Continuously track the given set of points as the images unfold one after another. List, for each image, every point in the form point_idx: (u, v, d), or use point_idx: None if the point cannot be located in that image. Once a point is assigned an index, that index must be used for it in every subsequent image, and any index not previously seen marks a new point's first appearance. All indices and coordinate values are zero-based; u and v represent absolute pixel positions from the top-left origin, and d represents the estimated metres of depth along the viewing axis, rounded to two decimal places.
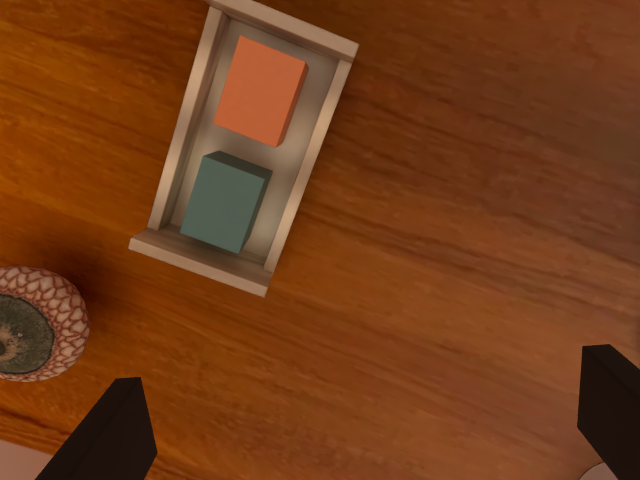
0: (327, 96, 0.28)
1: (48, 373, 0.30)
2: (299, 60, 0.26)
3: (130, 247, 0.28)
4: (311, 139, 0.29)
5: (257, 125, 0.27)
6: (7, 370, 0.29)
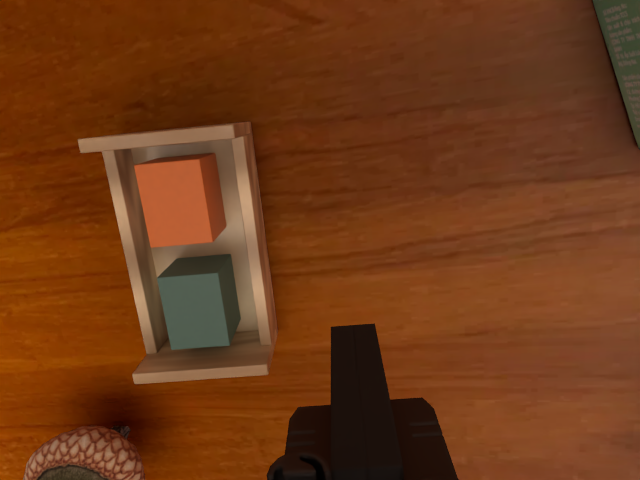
0: (237, 174, 0.29)
1: None
2: (193, 160, 0.27)
3: (136, 382, 0.30)
4: (243, 217, 0.30)
5: (188, 231, 0.29)
6: None
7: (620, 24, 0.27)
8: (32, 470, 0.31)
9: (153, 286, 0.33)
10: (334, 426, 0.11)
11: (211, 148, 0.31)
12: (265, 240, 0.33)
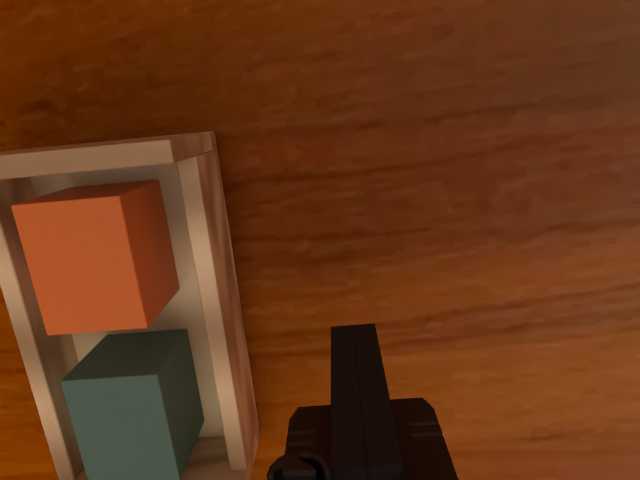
0: (188, 217, 0.18)
1: None
2: (109, 198, 0.16)
3: None
4: (199, 283, 0.19)
5: (106, 311, 0.18)
6: None
7: None
8: None
9: None
10: (334, 426, 0.11)
11: (153, 172, 0.20)
12: (239, 307, 0.22)
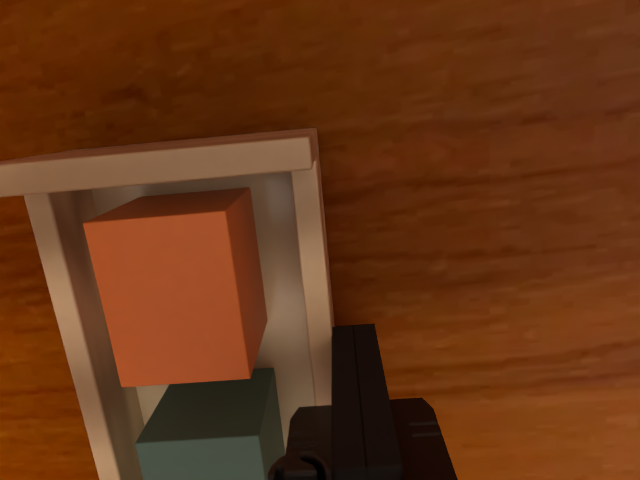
0: (300, 236, 0.14)
1: None
2: (212, 214, 0.12)
3: None
4: (308, 318, 0.15)
5: (199, 358, 0.14)
6: None
7: None
8: None
9: (133, 427, 0.18)
10: (335, 426, 0.11)
11: (243, 179, 0.16)
12: None
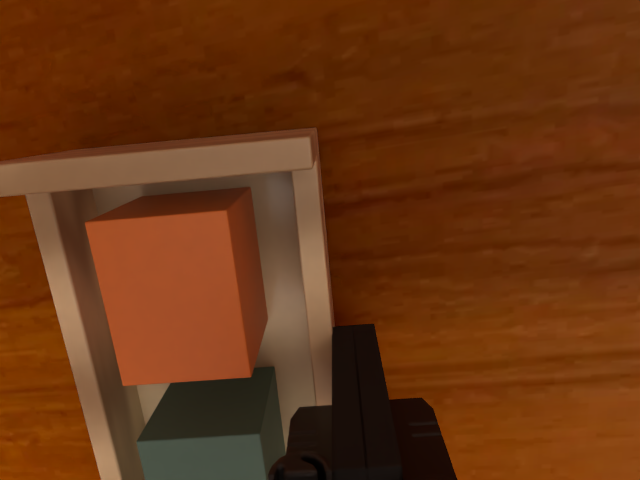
0: (300, 236, 0.14)
1: None
2: (213, 214, 0.13)
3: None
4: (309, 317, 0.15)
5: (200, 357, 0.14)
6: None
7: None
8: None
9: (134, 425, 0.18)
10: (335, 426, 0.11)
11: (243, 178, 0.16)
12: None
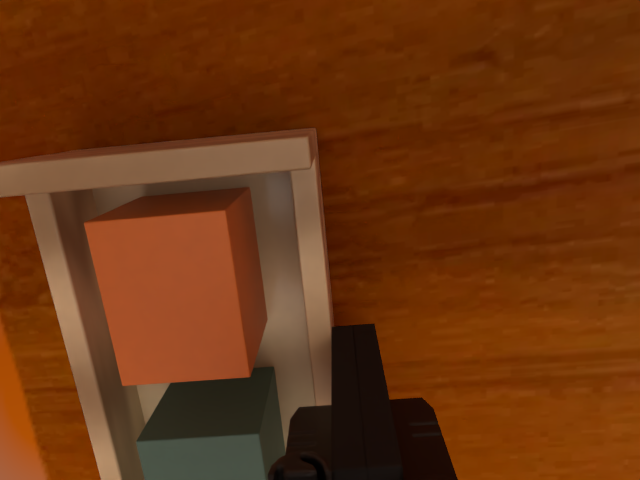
0: (299, 236, 0.14)
1: None
2: (212, 214, 0.13)
3: None
4: (308, 317, 0.15)
5: (199, 356, 0.14)
6: None
7: None
8: None
9: (134, 426, 0.18)
10: (334, 426, 0.11)
11: (242, 179, 0.16)
12: None
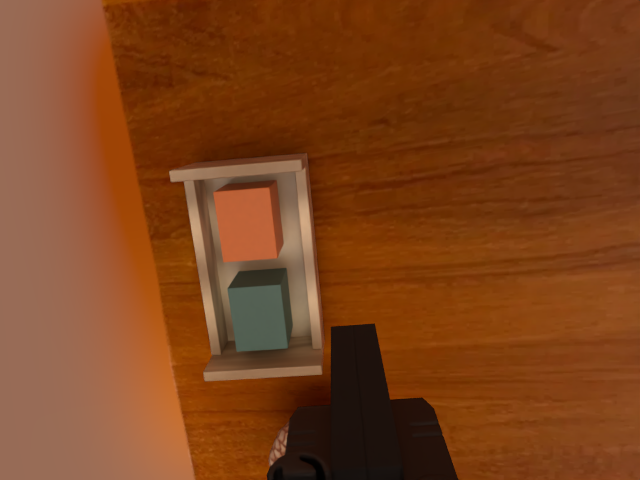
0: (298, 199, 0.34)
1: None
2: (264, 188, 0.32)
3: (206, 379, 0.35)
4: (302, 236, 0.34)
5: (256, 249, 0.33)
6: None
7: None
8: None
9: (218, 295, 0.38)
10: (334, 426, 0.11)
11: (273, 176, 0.36)
12: (316, 256, 0.38)
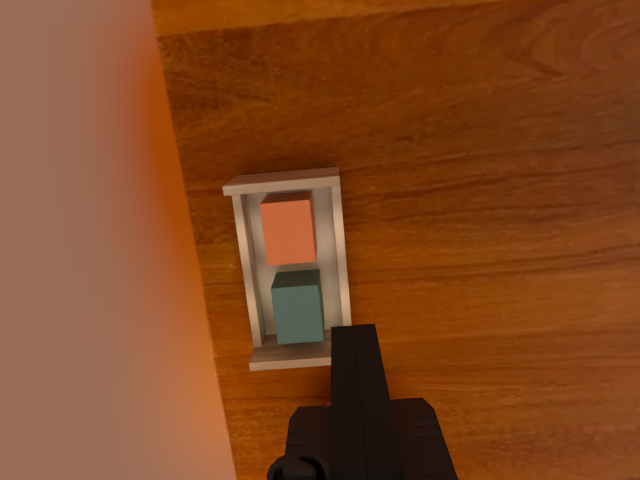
0: (333, 209, 0.38)
1: None
2: (304, 200, 0.36)
3: (251, 369, 0.39)
4: (336, 241, 0.39)
5: (297, 253, 0.37)
6: None
7: None
8: None
9: (258, 294, 0.42)
10: (334, 426, 0.11)
11: None
12: None
